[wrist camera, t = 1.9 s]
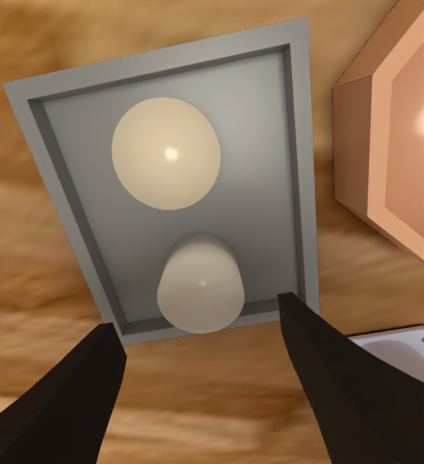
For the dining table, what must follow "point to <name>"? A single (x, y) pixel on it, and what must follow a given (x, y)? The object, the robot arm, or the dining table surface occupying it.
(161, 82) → the parts tray
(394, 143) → the bowl
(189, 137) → the sandy stone
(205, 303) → the white marshmallow
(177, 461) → the dining table surface
